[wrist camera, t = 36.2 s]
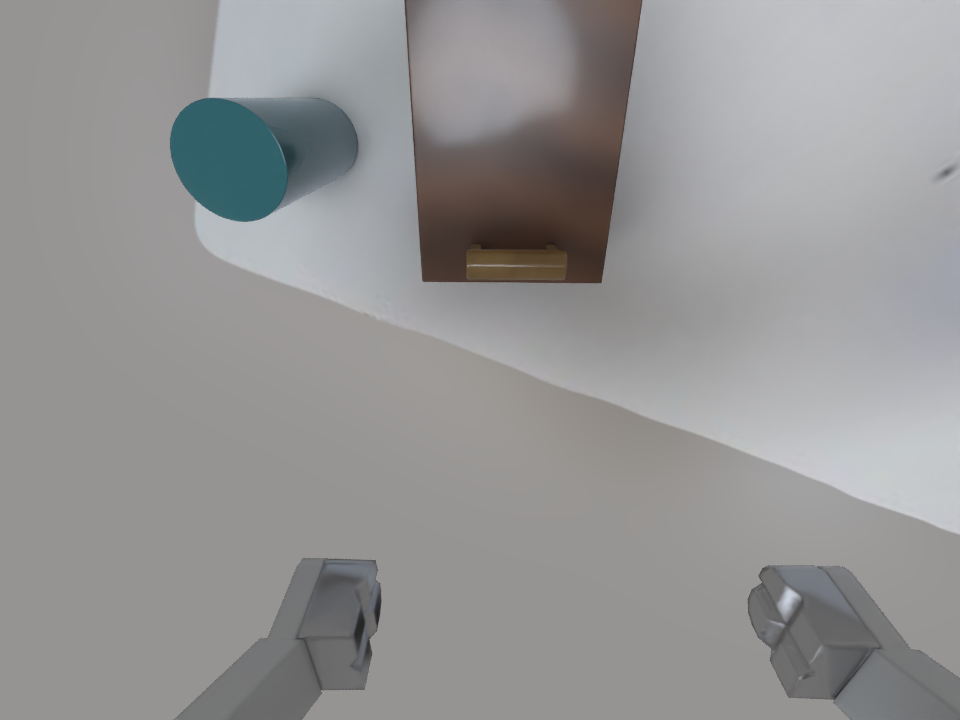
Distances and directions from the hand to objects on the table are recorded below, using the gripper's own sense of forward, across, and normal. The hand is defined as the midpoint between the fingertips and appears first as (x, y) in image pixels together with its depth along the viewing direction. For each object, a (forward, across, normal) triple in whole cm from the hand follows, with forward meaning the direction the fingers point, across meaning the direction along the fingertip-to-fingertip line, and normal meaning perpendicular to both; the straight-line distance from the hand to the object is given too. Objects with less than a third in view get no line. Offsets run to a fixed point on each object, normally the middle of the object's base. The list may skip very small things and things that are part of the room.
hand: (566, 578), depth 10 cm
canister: (+29, +14, -6) cm, 33 cm away
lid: (+25, 0, -6) cm, 26 cm away
